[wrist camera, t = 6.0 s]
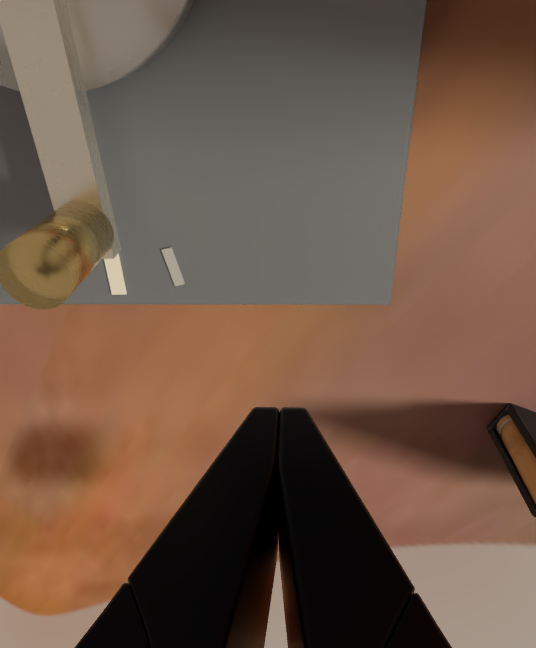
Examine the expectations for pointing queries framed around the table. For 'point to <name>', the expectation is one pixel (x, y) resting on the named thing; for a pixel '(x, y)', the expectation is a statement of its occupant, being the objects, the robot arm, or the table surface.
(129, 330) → the table surface
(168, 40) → the disc crank with handle
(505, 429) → the ammunition clip
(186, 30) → the stand base
